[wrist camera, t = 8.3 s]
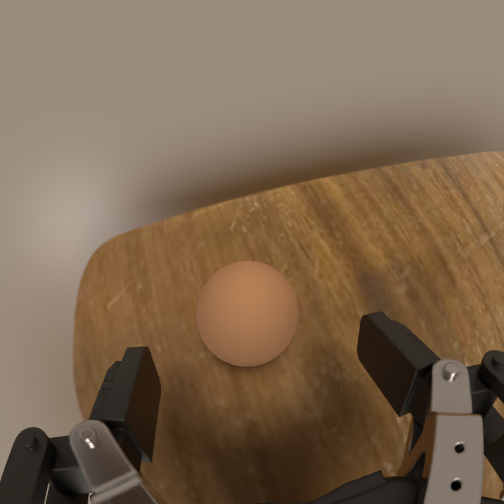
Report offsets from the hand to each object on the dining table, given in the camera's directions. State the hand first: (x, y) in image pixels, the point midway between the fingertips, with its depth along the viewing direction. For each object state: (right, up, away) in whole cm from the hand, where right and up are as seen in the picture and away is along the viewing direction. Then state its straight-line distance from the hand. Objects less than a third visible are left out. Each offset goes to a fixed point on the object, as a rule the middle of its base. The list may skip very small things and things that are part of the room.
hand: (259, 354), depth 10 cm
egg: (-1, -1, +8) cm, 8 cm away
